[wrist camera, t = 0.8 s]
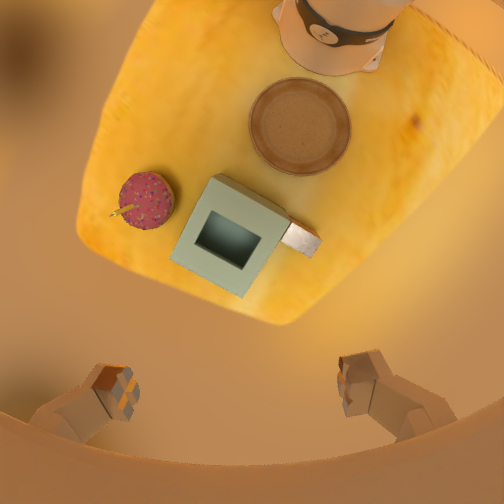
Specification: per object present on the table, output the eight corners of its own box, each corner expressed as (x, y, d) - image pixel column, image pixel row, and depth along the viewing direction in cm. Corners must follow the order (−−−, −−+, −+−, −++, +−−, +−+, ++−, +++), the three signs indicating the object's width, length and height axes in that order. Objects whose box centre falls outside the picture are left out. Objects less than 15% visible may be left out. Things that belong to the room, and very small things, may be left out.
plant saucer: (362, 151, 40) (368, 151, 37) (278, 191, 42) (279, 193, 40) (318, 68, 36) (321, 63, 33) (232, 106, 38) (230, 103, 36)
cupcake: (143, 230, 44) (109, 253, 33) (125, 182, 42) (85, 192, 31) (189, 211, 43) (165, 230, 32) (170, 161, 41) (139, 163, 30)
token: (288, 215, 43) (292, 222, 38) (315, 231, 44) (322, 240, 39) (278, 231, 44) (280, 240, 39) (305, 247, 45) (310, 258, 40)
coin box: (221, 173, 41) (211, 176, 33) (284, 209, 43) (290, 221, 35) (185, 240, 45) (169, 259, 36) (245, 273, 46) (242, 298, 38)
